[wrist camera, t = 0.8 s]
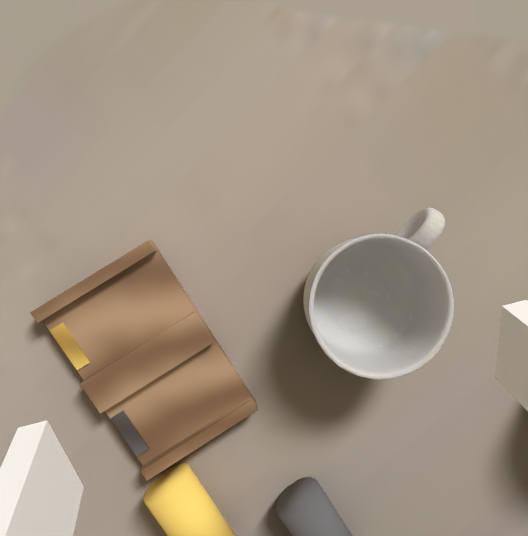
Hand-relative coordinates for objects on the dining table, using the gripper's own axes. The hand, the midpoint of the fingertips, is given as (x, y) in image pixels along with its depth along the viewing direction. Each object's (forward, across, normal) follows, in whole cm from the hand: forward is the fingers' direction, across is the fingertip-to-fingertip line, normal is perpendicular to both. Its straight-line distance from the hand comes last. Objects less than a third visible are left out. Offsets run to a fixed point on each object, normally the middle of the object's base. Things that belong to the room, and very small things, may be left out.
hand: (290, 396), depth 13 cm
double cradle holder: (+23, +9, +14) cm, 28 cm away
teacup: (+24, -11, +12) cm, 29 cm away
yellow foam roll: (+16, +9, +26) cm, 31 cm away
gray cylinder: (+14, -2, +30) cm, 33 cm away
